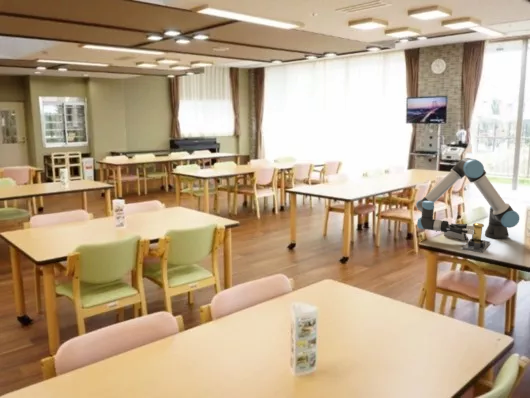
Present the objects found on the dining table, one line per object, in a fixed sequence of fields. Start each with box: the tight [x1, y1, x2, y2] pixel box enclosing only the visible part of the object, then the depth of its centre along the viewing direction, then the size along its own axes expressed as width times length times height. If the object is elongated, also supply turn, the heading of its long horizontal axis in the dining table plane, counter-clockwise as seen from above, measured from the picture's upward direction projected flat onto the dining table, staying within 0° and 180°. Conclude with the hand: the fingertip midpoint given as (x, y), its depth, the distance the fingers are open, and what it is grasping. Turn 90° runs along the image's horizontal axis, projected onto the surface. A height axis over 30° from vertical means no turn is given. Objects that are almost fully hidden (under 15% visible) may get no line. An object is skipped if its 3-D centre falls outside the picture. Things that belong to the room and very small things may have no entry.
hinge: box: [443, 231, 469, 241], centre depth 337 cm, size 17×5×10 cm, turn 32°
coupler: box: [472, 222, 485, 243], centre depth 314 cm, size 6×6×14 cm
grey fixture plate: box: [462, 234, 491, 253], centre depth 315 cm, size 27×12×5 cm, turn 147°
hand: (475, 230), depth 314 cm, fingers open, 13 cm apart
